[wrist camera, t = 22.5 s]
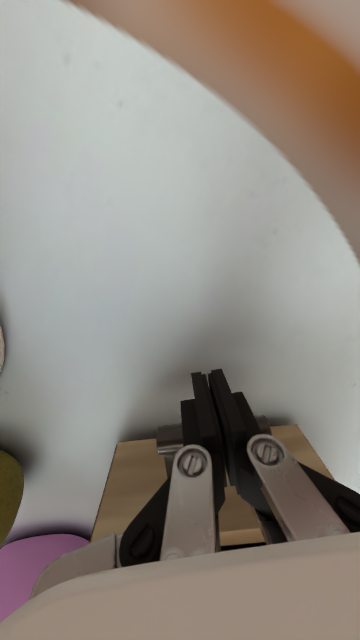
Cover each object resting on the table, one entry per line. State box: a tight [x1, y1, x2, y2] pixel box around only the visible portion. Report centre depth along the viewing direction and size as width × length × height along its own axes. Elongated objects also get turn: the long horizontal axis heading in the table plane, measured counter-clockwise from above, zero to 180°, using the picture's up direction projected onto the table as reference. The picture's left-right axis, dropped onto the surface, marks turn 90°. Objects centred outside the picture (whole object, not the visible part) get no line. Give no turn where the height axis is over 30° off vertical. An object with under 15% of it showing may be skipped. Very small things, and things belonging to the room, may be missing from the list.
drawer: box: [90, 415, 335, 550], centre depth 15 cm, size 18×13×6 cm
